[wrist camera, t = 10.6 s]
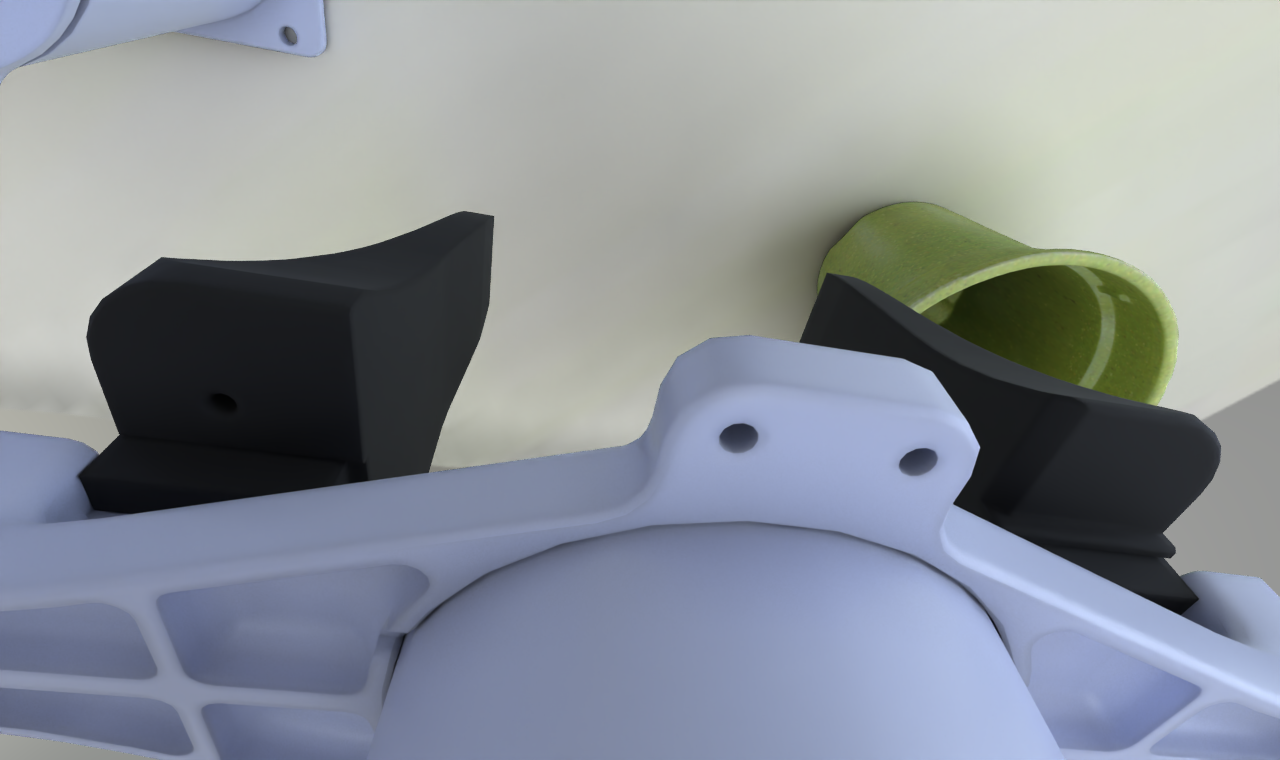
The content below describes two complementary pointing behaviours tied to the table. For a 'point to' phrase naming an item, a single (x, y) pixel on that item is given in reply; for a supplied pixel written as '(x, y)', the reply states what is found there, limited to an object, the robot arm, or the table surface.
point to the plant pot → (1019, 297)
